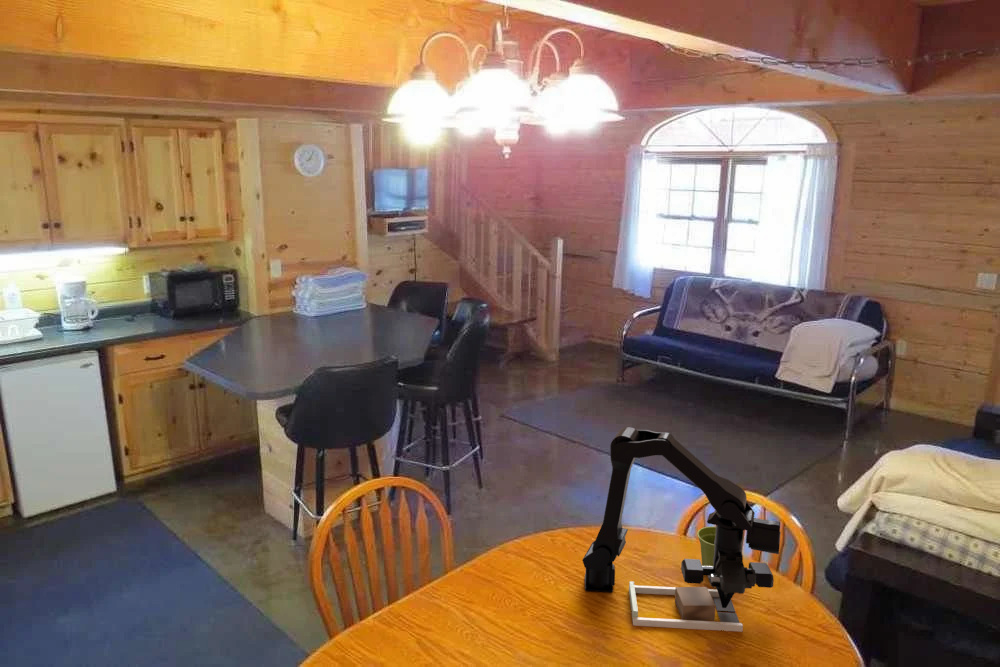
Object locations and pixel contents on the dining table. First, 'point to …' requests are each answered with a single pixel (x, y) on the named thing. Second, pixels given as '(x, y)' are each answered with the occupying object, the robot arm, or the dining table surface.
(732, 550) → the robot arm
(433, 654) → the dining table surface
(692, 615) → the walnut block
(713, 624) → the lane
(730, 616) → the pads
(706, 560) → the plant pot
